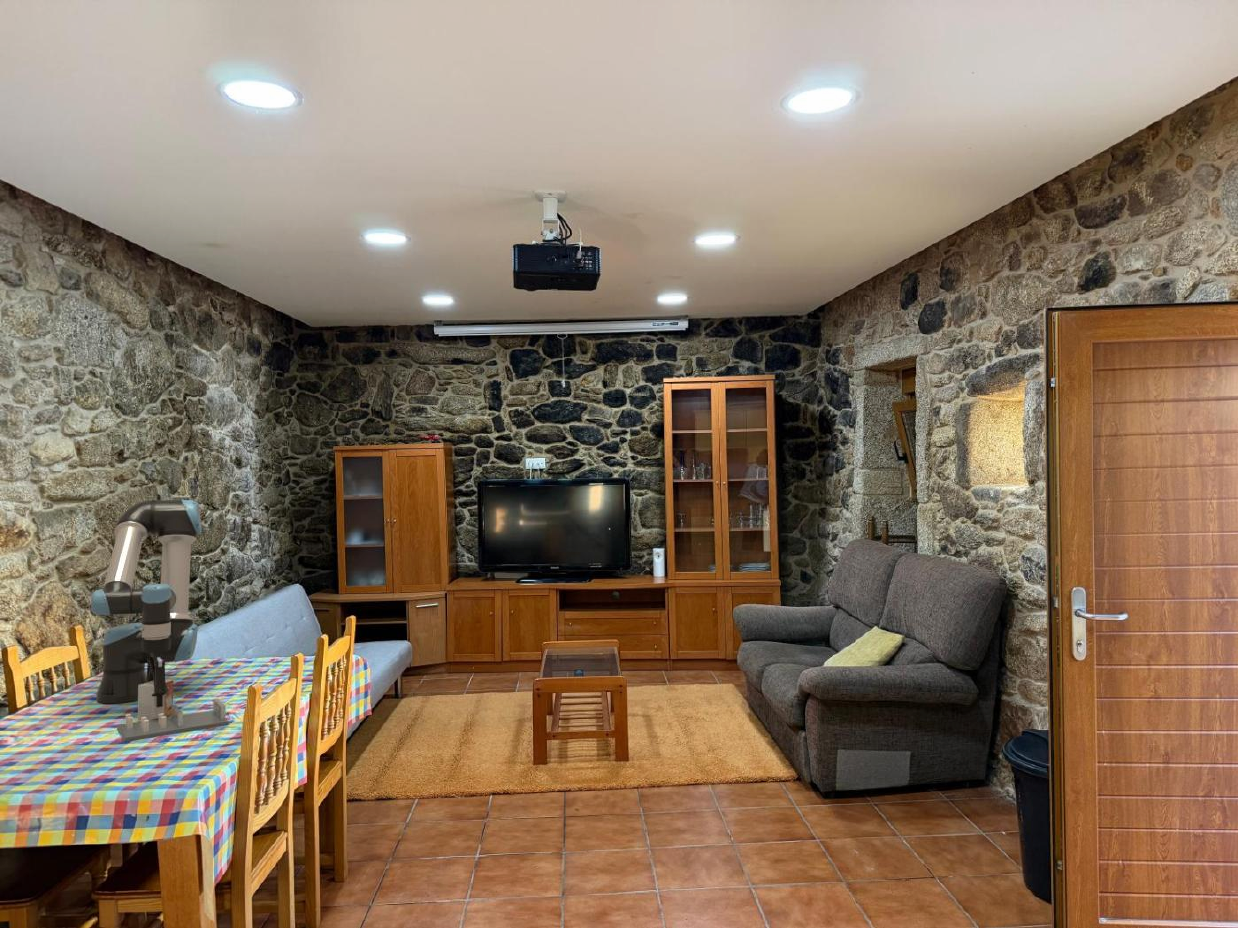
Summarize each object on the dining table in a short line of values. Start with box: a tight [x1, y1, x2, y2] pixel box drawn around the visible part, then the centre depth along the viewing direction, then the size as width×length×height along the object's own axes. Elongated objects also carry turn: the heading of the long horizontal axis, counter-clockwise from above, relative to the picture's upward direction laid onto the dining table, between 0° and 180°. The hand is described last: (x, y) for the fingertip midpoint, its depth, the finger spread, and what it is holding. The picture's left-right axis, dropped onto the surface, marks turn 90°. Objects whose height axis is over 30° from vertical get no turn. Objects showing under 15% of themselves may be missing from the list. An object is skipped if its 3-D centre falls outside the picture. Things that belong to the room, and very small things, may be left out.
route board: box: [116, 709, 229, 742], centre depth 245 cm, size 15×26×4 cm, turn 127°
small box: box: [137, 678, 174, 722], centre depth 253 cm, size 8×6×10 cm
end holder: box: [170, 698, 227, 727], centre depth 248 cm, size 10×12×4 cm
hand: (155, 713), depth 253 cm, fingers closed on small box, 9 cm apart
